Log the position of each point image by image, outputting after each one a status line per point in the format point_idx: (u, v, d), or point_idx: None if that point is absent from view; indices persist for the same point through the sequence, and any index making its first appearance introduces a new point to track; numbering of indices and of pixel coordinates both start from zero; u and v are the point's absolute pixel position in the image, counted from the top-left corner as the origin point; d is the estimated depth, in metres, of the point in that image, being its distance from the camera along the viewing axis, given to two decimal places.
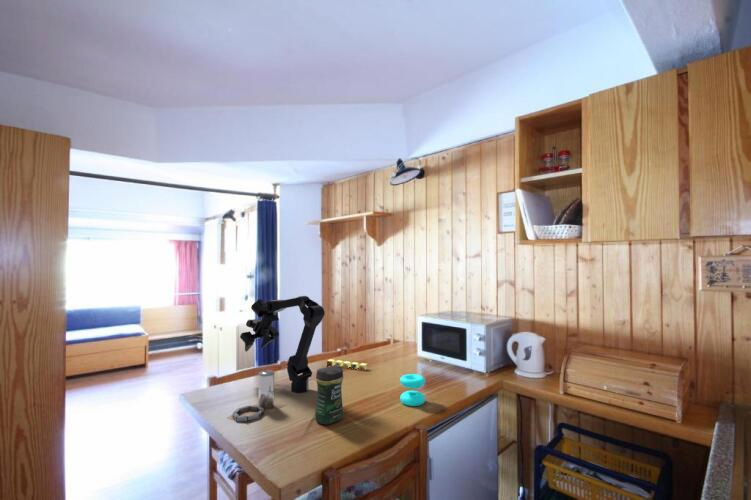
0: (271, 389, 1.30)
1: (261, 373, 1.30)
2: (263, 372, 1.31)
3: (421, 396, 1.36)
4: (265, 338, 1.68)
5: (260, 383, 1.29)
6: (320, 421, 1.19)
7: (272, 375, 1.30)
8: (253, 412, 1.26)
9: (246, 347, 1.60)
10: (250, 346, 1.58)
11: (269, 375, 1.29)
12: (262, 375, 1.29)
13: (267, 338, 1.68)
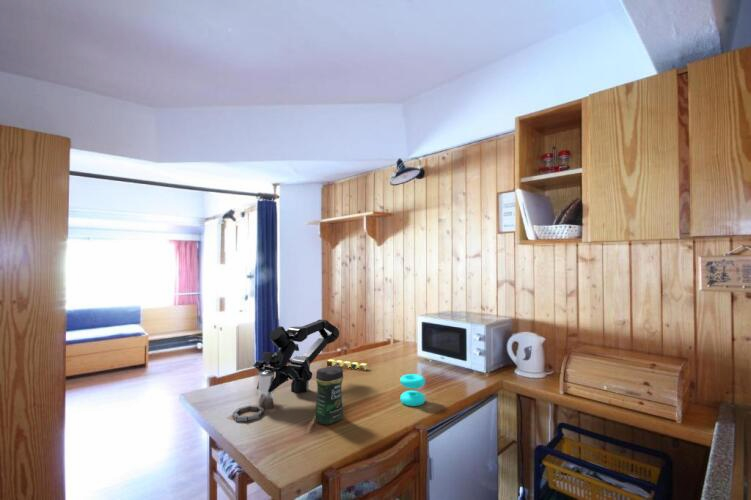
0: None
1: (261, 373, 1.30)
2: (263, 372, 1.31)
3: (421, 396, 1.36)
4: None
5: (260, 383, 1.29)
6: (320, 421, 1.19)
7: (272, 375, 1.30)
8: (253, 412, 1.26)
9: (275, 386, 1.30)
10: None
11: (269, 375, 1.29)
12: (262, 375, 1.29)
13: None
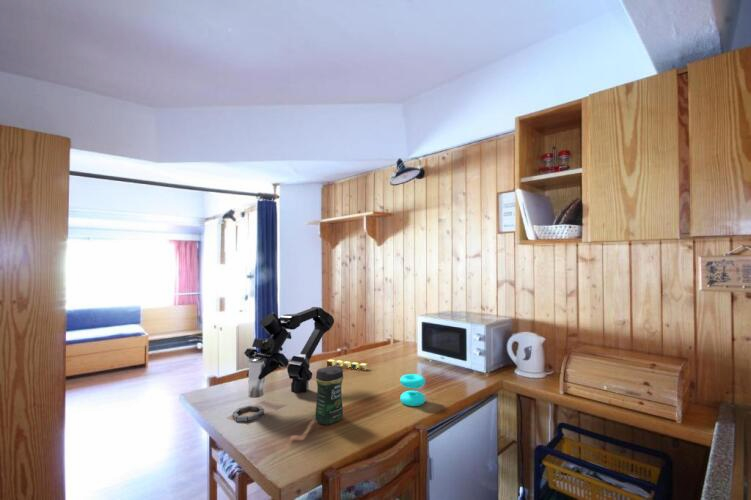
0: None
1: (251, 360, 1.26)
2: (253, 359, 1.27)
3: (421, 396, 1.36)
4: None
5: (250, 370, 1.25)
6: (320, 421, 1.19)
7: (263, 362, 1.27)
8: (253, 412, 1.26)
9: (265, 373, 1.26)
10: None
11: (259, 362, 1.25)
12: (252, 362, 1.25)
13: None
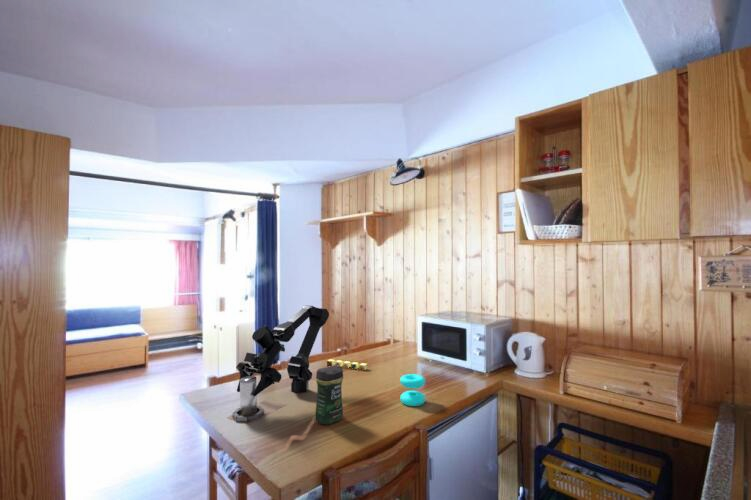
0: (253, 396, 1.22)
1: (242, 380, 1.23)
2: (245, 378, 1.24)
3: (421, 396, 1.36)
4: None
5: (241, 390, 1.22)
6: (320, 421, 1.19)
7: (254, 381, 1.23)
8: None
9: (260, 389, 1.22)
10: None
11: (251, 382, 1.22)
12: (243, 382, 1.21)
13: None
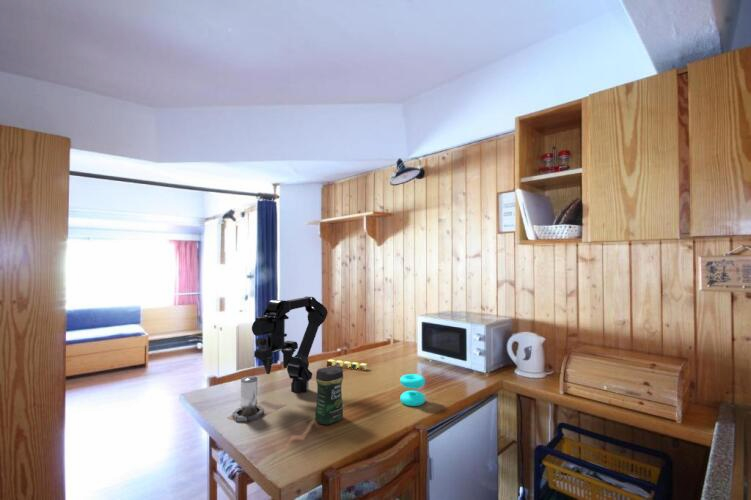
0: (254, 396, 1.23)
1: (243, 379, 1.23)
2: (246, 378, 1.24)
3: (421, 396, 1.36)
4: (285, 355, 1.42)
5: (242, 390, 1.22)
6: (320, 421, 1.19)
7: (255, 381, 1.23)
8: None
9: (267, 367, 1.32)
10: (270, 362, 1.31)
11: (252, 382, 1.22)
12: (244, 382, 1.22)
13: (287, 353, 1.41)
